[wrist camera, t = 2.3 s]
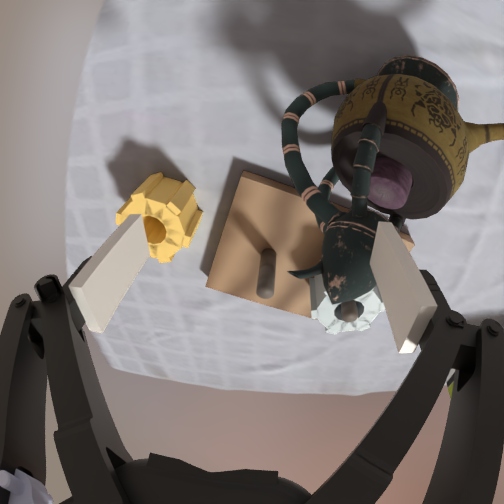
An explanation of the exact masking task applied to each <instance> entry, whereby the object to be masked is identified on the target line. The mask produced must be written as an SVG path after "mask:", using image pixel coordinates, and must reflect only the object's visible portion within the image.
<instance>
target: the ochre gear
mask: <svg viewBox="0 0 504 504" xmlns="http://www.w3.org/2000/svg"><path fill="white" fill-rule="evenodd" d="M195 189H196V188H195V187H194V186H193V185H192V184H191V183H190V182H189V181H188V180H186V181H185V182H183V183H182V182H180V181H177V180H174V179H170V178H167V177H163V174H162V172H160V173H156V174H152V175H150V176H149V177H148V178H147V179H146V180H145V181H144V182H143V183H142V184H141V185H140V186H139V187H138V188H137V189H136V190H135V192H134V193H133V194H132V195H131V197H130V199H129V200H128V201H127V202H126V203H125V204H124V205H123V206H122V207H121V208H120V209H119V210H118V212H117V213H116V224H117V225H121V224H122V223H123V221H124V220H125V219H126V218H127V217H128V216H129V215H130V214H142V219H143V224H144V228H145V233H146V238H147V242H148V247H149V251H150V257H153V258H158V260H159V262H160V263H165V262H171V261H172V259H173V257H174V255H175V253H176V252H177V251H178V250H180V249H181V248H182V246H183V247H186V248H188V247H189V245H190V243H191V240H192V238H193V236H194V234H195V232H196V230H197V228H198V226H199V223H200V221H201V217H202V214H203V211H200V210H198V207H197V203H196V200H195V197H194V194H193V192H194V190H195Z"/></svg>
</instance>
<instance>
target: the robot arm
mask: <svg viewBox="0 0 504 504" xmlns="http://www.w3.org/2000/svg"><path fill="white" fill-rule="evenodd" d="M149 256H150V251H149V247H148V242H147V238H146V233H145V228H144V224H143V219H142V214H130V215H129V216H128V217H127V218H126V219H125V220H124V221H123V223H122V224H121V225H120V226H119V227H118V228H117V229H116V230H115V231H114V232H113V233H112V235H111V236H110V237H109V238H108V239H107V240H106V241H105V242H104V244H103V245H102V246H101V247H100V248H99V249H98V250H97V252H96V253H95V254H94V255H93V256H90V257H89V258H87V259H86V260H85V261H83V262H82V263H81V265H80V266H79V267H78V269H76V271H75V272H74V274H72V275H71V277H70V278H69V279H68V280H67V282H66V283H65V284H64V285H63V287H62V286H61V284H60V282H59V279H58V277H57V276H56V275H47V276H44V277H42V278H41V279H40V280H38V281H37V283H36V284H35V286H34V289H35V291H36V293H37V295H38V297H39V299H40V301H32V299H31V297H30V295H29V294H21V295H19V296H17V297H15V299H14V300H13V301H12V302H11V304H10V307H9V310H8V313H7V316H6V319H5V322H4V325H3V328H2V331H1V335H0V504H53V499H52V497H51V495H50V494H48V492H47V490H46V488H45V481H46V455H45V403H46V387H47V375H48V379H49V385H50V391H51V396H52V401H53V406H54V411H55V415H56V419H57V423H58V430H57V431H55V432H54V441H55V444H56V448H57V452H58V455H59V458H60V462H61V465H62V468H63V471H64V474H65V477H66V480H67V483H68V486H69V488H70V491H71V493H72V497H70V498H68V499H67V500H65V501H63V502H61V503H59V504H375V502H376V501H377V500H378V499H379V498H380V496H381V495H382V494H383V492H384V491H385V490H386V488H387V487H388V485H389V484H390V482H391V481H392V479H393V473H394V471H395V470H396V468H397V467H398V465H399V464H400V462H401V461H402V459H403V457H404V456H405V454H406V453H407V452H408V450H409V448H410V447H411V445H412V444H413V442H414V440H415V439H416V437H417V435H418V434H419V432H420V430H421V428H422V427H423V425H424V423H425V421H426V419H427V418H428V416H429V414H430V412H431V410H432V408H433V406H434V404H435V402H436V400H437V398H438V396H439V394H440V392H441V390H442V388H443V386H444V384H445V381H446V379H447V377H448V375H449V372H450V370H451V369H455V375H454V382H453V389H452V396H451V402H450V408H449V413H448V418H447V423H446V427H445V432H444V436H443V440H442V444H441V448H440V452H439V455H438V459H437V462H436V466H435V469H434V472H433V475H432V478H431V481H430V484H429V487H428V490H427V493H426V495H425V498H424V501H423V503H422V504H492V502H493V498H494V494H495V490H496V485H497V481H498V476H499V471H500V465H501V459H502V453H503V444H504V330H503V328H502V326H501V325H500V324H499V323H498V322H496V321H494V320H492V319H485V320H484V321H483V322H482V323H481V325H480V327H479V326H474V325H470V324H467V323H466V320H465V318H464V317H463V316H462V315H461V314H460V313H458V312H456V311H453V310H451V309H450V307H449V305H448V303H447V301H446V299H445V297H444V295H443V293H442V291H440V288H439V286H438V285H437V282H436V281H435V279H434V277H433V276H432V275H431V274H430V273H429V272H428V271H427V270H419V269H418V267H417V265H416V263H415V262H414V260H413V258H412V256H411V254H410V253H409V251H408V249H407V248H406V246H405V244H404V242H403V241H402V239H401V237H400V236H399V234H398V232H397V231H396V229H395V227H394V226H393V224H392V223H391V222H380V221H379V222H378V227H377V232H376V237H375V241H374V246H373V250H372V255H371V259H370V266H371V269H372V272H373V274H374V277H375V280H376V283H377V286H378V289H379V291H380V294H381V297H382V300H383V303H384V306H385V310H386V313H387V316H388V319H389V322H390V325H391V329H392V332H393V335H394V339H395V342H396V346H397V349H398V353H412V352H414V351H415V349H416V348H417V346H418V344H419V345H420V348H421V352H420V354H419V356H418V357H417V359H416V361H415V362H414V364H413V366H412V368H411V369H410V371H409V373H408V374H407V376H406V378H405V379H404V381H403V382H402V384H401V386H400V387H399V389H398V390H397V392H396V393H395V395H394V396H393V398H392V399H391V401H390V402H389V404H388V405H387V407H386V408H385V410H384V411H383V412H382V414H381V415H380V417H379V418H378V419H377V421H376V422H375V424H374V425H373V426H372V427H371V429H370V430H369V431H368V433H367V434H366V435H365V437H364V438H363V439H362V440H361V441H360V443H359V444H358V445H357V446H356V448H355V449H354V450H353V451H352V452H351V454H350V455H349V456H348V457H347V458H346V460H345V461H344V462H343V463H342V464H341V465H340V466H339V467H338V469H337V470H336V471H335V472H334V473H333V474H332V475H331V476H330V477H329V478H328V479H327V480H326V481H325V482H324V483H323V484H322V485H321V486H320V488H319V489H318V490H317V491H316V492H314V494H312V495H311V494H310V493H309V492H308V491H307V490H306V489H304V488H303V487H301V486H300V485H298V484H296V483H294V482H293V481H290V480H287V479H285V478H281V477H278V471H264V470H263V471H262V470H250V469H243V470H233V471H224V472H207V471H205V470H202V469H200V468H198V467H195V466H193V465H191V464H188V463H186V462H184V461H182V460H180V459H175V458H170V457H166V456H162V455H158V454H153V453H150V455H149V458H148V459H139V460H133V459H132V457H131V456H130V454H129V453H128V452H127V450H126V449H125V447H124V445H123V443H122V441H121V438H120V436H119V434H118V431H117V429H116V427H115V424H114V422H113V419H112V417H111V414H110V412H109V409H108V407H107V404H106V401H105V398H104V395H103V393H102V390H101V387H100V384H99V381H98V378H97V375H96V371H95V368H94V365H93V362H92V358H91V355H90V351H89V347H88V344H87V340H86V336H85V333H84V331H83V329H82V327H83V325H84V323H85V322H86V324H87V326H88V328H89V330H90V331H93V332H98V333H103V331H104V330H105V328H106V326H107V324H108V323H109V321H110V319H111V317H112V316H113V314H114V312H115V311H116V309H117V307H118V305H119V304H120V302H121V300H122V299H123V297H124V295H125V294H126V292H127V290H128V289H129V287H130V286H131V284H132V282H133V281H134V279H135V277H136V276H137V274H138V273H139V271H140V270H141V268H142V266H143V265H144V263H145V262H146V260H147V259H148V257H149Z"/></svg>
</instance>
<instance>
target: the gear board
mask: <svg viewBox="0 0 504 504" xmlns="http://www.w3.org/2000/svg"><path fill="white" fill-rule="evenodd" d="M331 203H332V202H331ZM332 204H333V205H334V206H335V207H337V208H338V209H339V210H340V211H344V212H347V213H348V212H349V211H350V209H347V208H345V207H342V206H340V205H337V204H335V203H332ZM399 236H400V237H401V239H402V241H403V242H404V244H405V246H406V248H407V249H408V251H409V252H410V251H411V249H412V248H413V247H414V245H415V244H414V242H413V240H412V238H411V236H409V235H407V234H405V233H403V232H399ZM323 239H324V234H323V232H322V231H321V230H320V229H319V227H318V224H317V221H316V217H315V214H314V213H313V212H312V211H311V210H310V209H309V207H308V206H307V205H306V203H305V202H304V201H303V199H302V198H301V196H300V195H299V194H298V192H297V190H296V188H293V187H290V186H288V185H285V184H282V183H279V182H277V181H274V180H271V179H268V178H265V177H262V176H259V175H257V174H254V173H251V172H248V171H245V170H243V173H242V176H241V178H240V181H239V184H238V187H237V190H236V193H235V196H234V199H233V202H232V205H231V208H230V211H229V214H228V217H227V220H226V223H225V226H224V229H223V233H222V236H221V239H220V242H219V245H218V248H217V251H216V254H215V258H214V261H213V264H212V267H211V270H210V274H209V277H208V280H207V283H206V287H208V288H212V289H215V290H218V291H221V292H224V293H227V294H231V295H234V296H237V297H240V298H244V299H247V300H250V301H254V302H257V303H260V304H264V305H267V306H270V307H274V308H277V309H281V310H284V311H288V312H291V313H295V314H298V315H302V316H306V317H309V318H312V316H311V301H310V284H309V278H315V277H314V276H312V277H309V278H304V279H299V278H296V277H294V276H293V275H291V274H289V273H288V272H287V271H296V270H306V269H309V268H311V267H313V266H315V265H316V264H318V263H319V262H320V260H321V254H322V244H323ZM340 306H341V313H342V319H343V321H344V322H353V321H355V320H357V318H358V312H357V307H356V302H355V300H352V301H347V302H342V303H340ZM317 320H318V319H317Z"/></svg>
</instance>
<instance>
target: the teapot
mask: <svg viewBox="0 0 504 504" xmlns="http://www.w3.org/2000/svg"><path fill="white" fill-rule="evenodd" d="M344 94H348V96H347V97H346V99H345V100H344V102H343V103H342V105H341V106H340V108H339V110H338V112H337V114H336V116H335V119H334V127H333V134H332V146H331V154H332V163H333V167H332V168H331V169H330V171H329V172H328V173H327V174H326V176H325V177H324V178H323V180H322V182H321V184H320V185H319V187H318V188H317V187H316V185H315V184H314V183H313V181H312V179H311V177H310V175H309V173H308V171H307V169H306V167H305V165H304V163H303V161H302V158H301V153H300V148H299V143H298V135H297V127H298V123H299V119H300V117H301V116H302V115H303V114H304V112H305V111H306V110H307V109H308V108H309V107H311V106H312V105H314V104H315V103H317V102H318V101H320V100H322V99H325V98H327V97H330V96H334V95H344ZM458 104H459V96H458V93H457V89H456V86H455V84H454V83H453V81H452V80H451V78H450V77H449V75H448V74H447V73H446V72H445V71H444V70H442V69H441V68H440V67H439V66H438V65H436V64H435V63H433V62H431V61H428V60H426V59H424V58H422V57H416V56H409V55H406V56H400V57H395V58H393V59H391V60H389V61H388V62H386V63H385V64H384V65H383V67H382V68H381V69H380V71H379V72H378V76H376V77H372V78H370V79H368V80H363V79H355V80H347V81H337V82H328V83H324V84H321V85H319V86H316V87H314V88H311V89H309V90H308V91H306V92H305V93H303V94H302V95H300V96H299V97H297V98H296V99H295V100H294V101H293V102H292V103H291V104H290V106H289V107H288V108H287V109H286V111H285V114H284V117H283V121H282V148H283V154H284V160H285V166H286V168H287V171H288V173H289V175H290V177H291V179H292V181H293V184H294V186H295V188H296V190H297V192H298V194H299V195H300V196H301V198H302V199H303V201H304V202H305V203H306V205H307V206H308V207H309V209H310V210H311V211H312V212H313V213H314V214H315V217H316V221H317V224H318V227H319V229H320V230H321V231H322V232H323V234H324V239H323V244H322V254H321V261H320V262H319V263H318V264H316V265H315V266H313V267H311V268H309V269H306V270H296V271H287V272H288V273H289V274H291V275H293V276H294V277H296V278H299V279H304V278H309V277H312V276H316V275H320V274H322V278H323V284H324V288H325V290H326V292H327V294H328V296H329V299H330V301H331V303H332V305H333V304H338V303H342V302H347V301H352V300H354V299H356V298H358V297H360V296H362V295H364V294H366V293H368V292H370V291H371V290H372V289H373V288H374V287H375V286H376V285H377V283H376V280H375V277H374V274H373V272H372V269H371V266H370V259H371V255H372V250H373V246H374V241H375V237H376V232H377V227H378V222H379V221H380V222H391V223H392V224H393V226H394V227H395V229H396V231H397V232H398V234H399V232H400V229H401V226H403V225H404V222H405V219H406V218H408V219H421V218H427V217H429V216H432V215H434V214H436V213H438V212H439V211H440V210H441V209H442V208H443V207H444V206H445V204H446V203H447V202H448V201H449V200H450V199H451V197H452V196H453V195H454V194H455V192H456V191H457V190H458V188H459V187H460V185H461V184H462V182H463V180H464V176H465V172H466V167H467V162H468V157H469V153H470V152H472V151H473V150H475V149H476V148H477V147H479V146H480V145H482V144H485V143H488V142H491V141H495V140H504V123H497V124H474V123H468V122H465V121H463V119H462V118H461V116H460V114H459V113H458ZM339 179H340V181H341V182H342V184H343V185H344V186H345V187H346V188H347V189H348V190H349V191H350V192H351V194H350V195H351V196H352V210H350V211H349V212H348V213H347V212H344V211H340V210H339V209H338V208H337V207H335V206H334V205H333V204H332V203H331V202H330V201H329V198H330V194H331V192H332V189H333V187H334V185H335V184H336V183H337V181H338V180H339ZM367 205H368V206H370V207H372V208H374V209H376V210H378V211H380V212H382V213H385V214H389V215H390V220H389V221H388V220H387V219H385V218H384V217H383V216H382V215H380V214H378V213H376V212H374V211H372V210H369V209H367Z"/></svg>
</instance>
